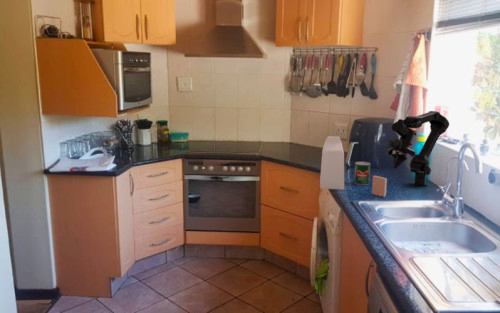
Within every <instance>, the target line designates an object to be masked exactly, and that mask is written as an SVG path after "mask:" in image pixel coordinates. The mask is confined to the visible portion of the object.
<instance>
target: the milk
mask: <svg viewBox="0 0 500 313" xmlns="http://www.w3.org/2000/svg"><path fill="white" fill-rule="evenodd" d="M321 151H322V152H321V154H322V155H321V167H320V177H319V178H320V179H319V188H320V189H321V190H345V152H344V147H343V143H342V139H341V136H327V137H326V139H325V141H324V144H323V147H322V150H321Z"/></svg>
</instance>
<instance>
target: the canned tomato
mask: <svg viewBox="0 0 500 313" xmlns="http://www.w3.org/2000/svg"><path fill="white" fill-rule="evenodd" d="M370 175H371V162H368V161H355V162H354V176H353V177H354V178H353V179H354V182H353V184H354V185H358V186H368V185H370V179H371V178H370Z"/></svg>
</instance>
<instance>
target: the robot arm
mask: <svg viewBox="0 0 500 313" xmlns="http://www.w3.org/2000/svg"><path fill="white" fill-rule="evenodd" d="M426 123H429V124H430V125H429V128H430V132H429V134H428V136H427V138H426V140H425V141H424V144H423V145H422V147H421V149H420V151H419V152H418V154H416V151H415V150H414V149H411V148H410V147H412V145H413V143H412V141H413V138H414V136H415V137H416V136H417V132H416V130H417V129H419V128H420V127H423V124H426ZM449 126H450V122H449V120H448V119H447V118H446V117H445V116H444V115H442V114H441V112H440V111H435V110H429V111H428V112H424V113H422V114H419V115H408V116H405V118H404V119H401V118H399V119H398V120H397V121H395V122H394V123H393V124H392V125H391V130H392V131H393V132H394V133H395V134H397V135H398V136H399V139H398V138H393V139H392V140H386V141H385V148H386V150H385V155H387V156H389V157H391V158H392V169H393V170H396V169H397V168H398V167H399V166H400V165H401V164H403V162H405V161H406V160H407V159H408V155H409V156H410V158H411V160H410V163H409V169H410V172H411V173H414V178H413V181H412V182H411V183H412V184H413V186H417V187H420V186H421V187H422V186H424V187H428V184H427V183H426V182H427V181H426V179H427V176H429V175H430V174H431V171H432V170H431V168H430V166H429V165H430V160H429V157H430V156H431V154H432V151H433V150H434V147H435V146H436V144H437V142H438V140H439V138H440V136H442V134H444V133H445V132H447V130H448V128H449ZM436 141H437V142H436ZM435 143H436V144H435ZM388 148H389V149H388Z"/></svg>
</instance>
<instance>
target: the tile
mask: <svg viewBox="0 0 500 313" xmlns="http://www.w3.org/2000/svg"><path fill="white" fill-rule="evenodd" d="M387 184H388V179H387V177H382V176H379V175H373V176H372V186H371V187H372V188H371V194H372V195H374V194H375V196H378V195H379V197H381V196H383V197H382V198H386V197H387ZM385 196H386V197H385Z"/></svg>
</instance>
